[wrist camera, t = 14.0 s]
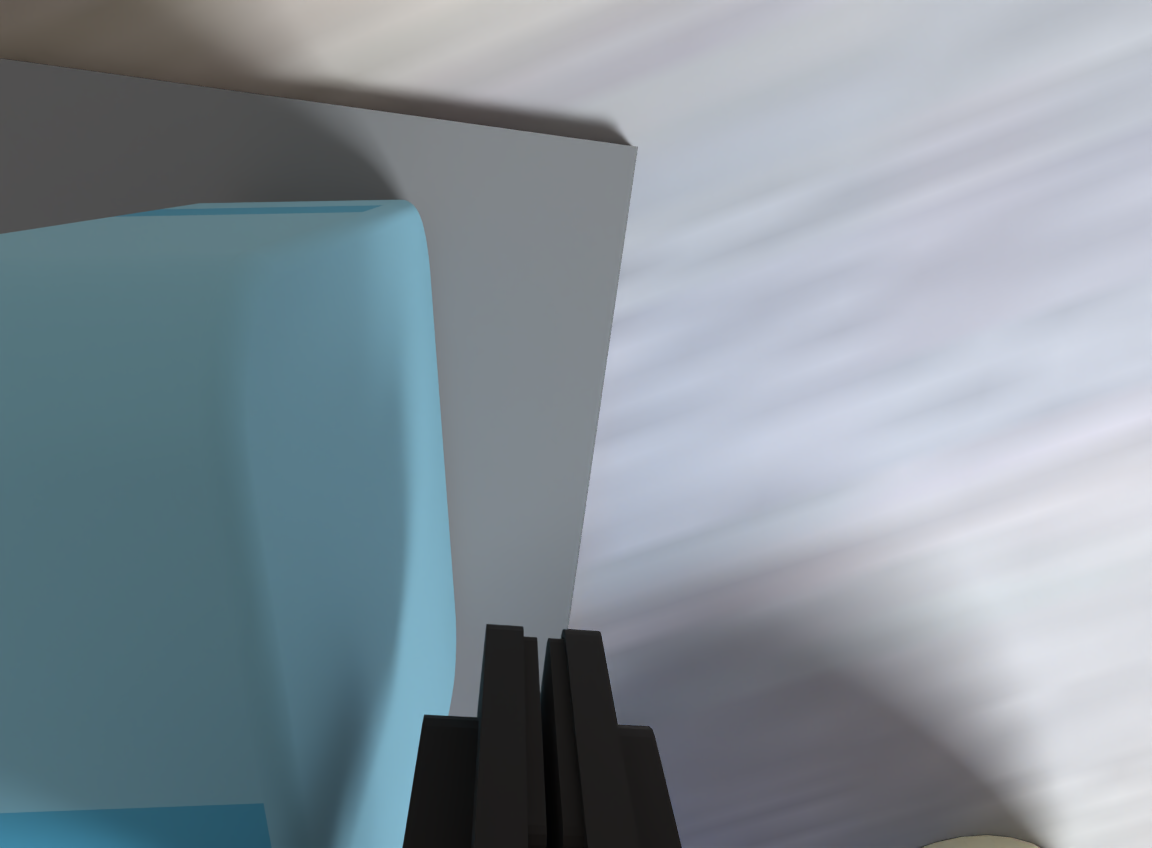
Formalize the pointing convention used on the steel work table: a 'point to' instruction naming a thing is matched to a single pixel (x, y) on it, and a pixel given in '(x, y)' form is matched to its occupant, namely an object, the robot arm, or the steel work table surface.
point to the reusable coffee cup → (982, 842)
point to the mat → (457, 268)
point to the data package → (220, 527)
